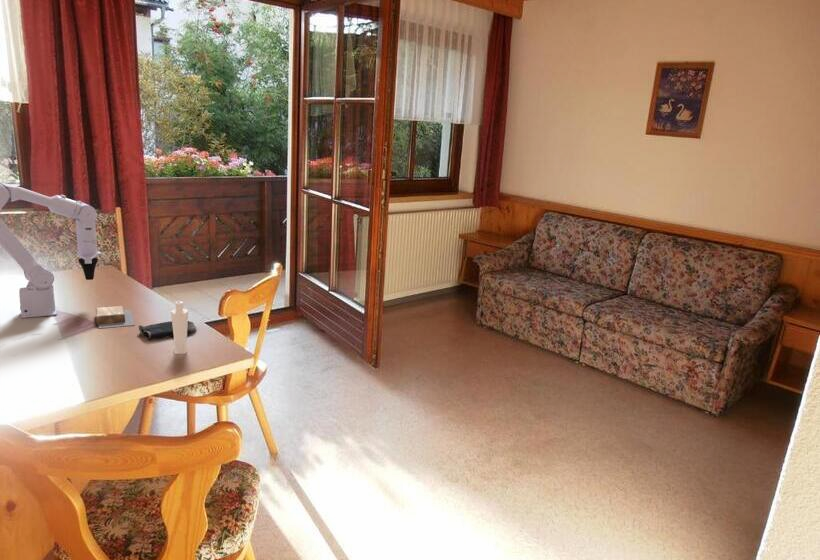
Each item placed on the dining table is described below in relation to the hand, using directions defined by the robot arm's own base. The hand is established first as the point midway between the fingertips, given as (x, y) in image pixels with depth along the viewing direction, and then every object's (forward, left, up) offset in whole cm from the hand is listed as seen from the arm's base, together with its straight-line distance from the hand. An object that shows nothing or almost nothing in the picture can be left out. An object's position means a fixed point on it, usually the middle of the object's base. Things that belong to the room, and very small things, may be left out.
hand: (89, 279), depth 193 cm
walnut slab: (+1, -16, -8) cm, 18 cm away
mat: (+7, -16, -9) cm, 20 cm away
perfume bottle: (+22, -50, -10) cm, 55 cm away
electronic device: (+21, -34, -10) cm, 41 cm away
